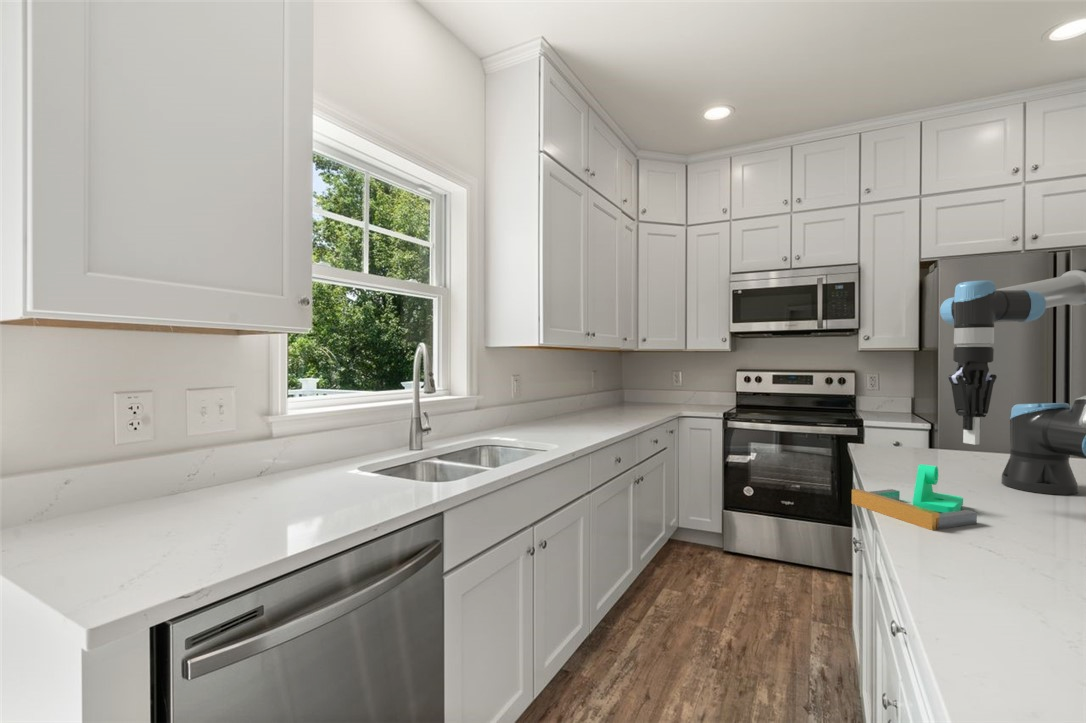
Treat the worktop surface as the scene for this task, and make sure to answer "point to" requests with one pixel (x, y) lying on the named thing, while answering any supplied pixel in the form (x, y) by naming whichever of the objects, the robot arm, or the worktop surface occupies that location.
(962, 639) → the worktop surface
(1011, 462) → the robot arm
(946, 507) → the camera mount
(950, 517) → the dock
